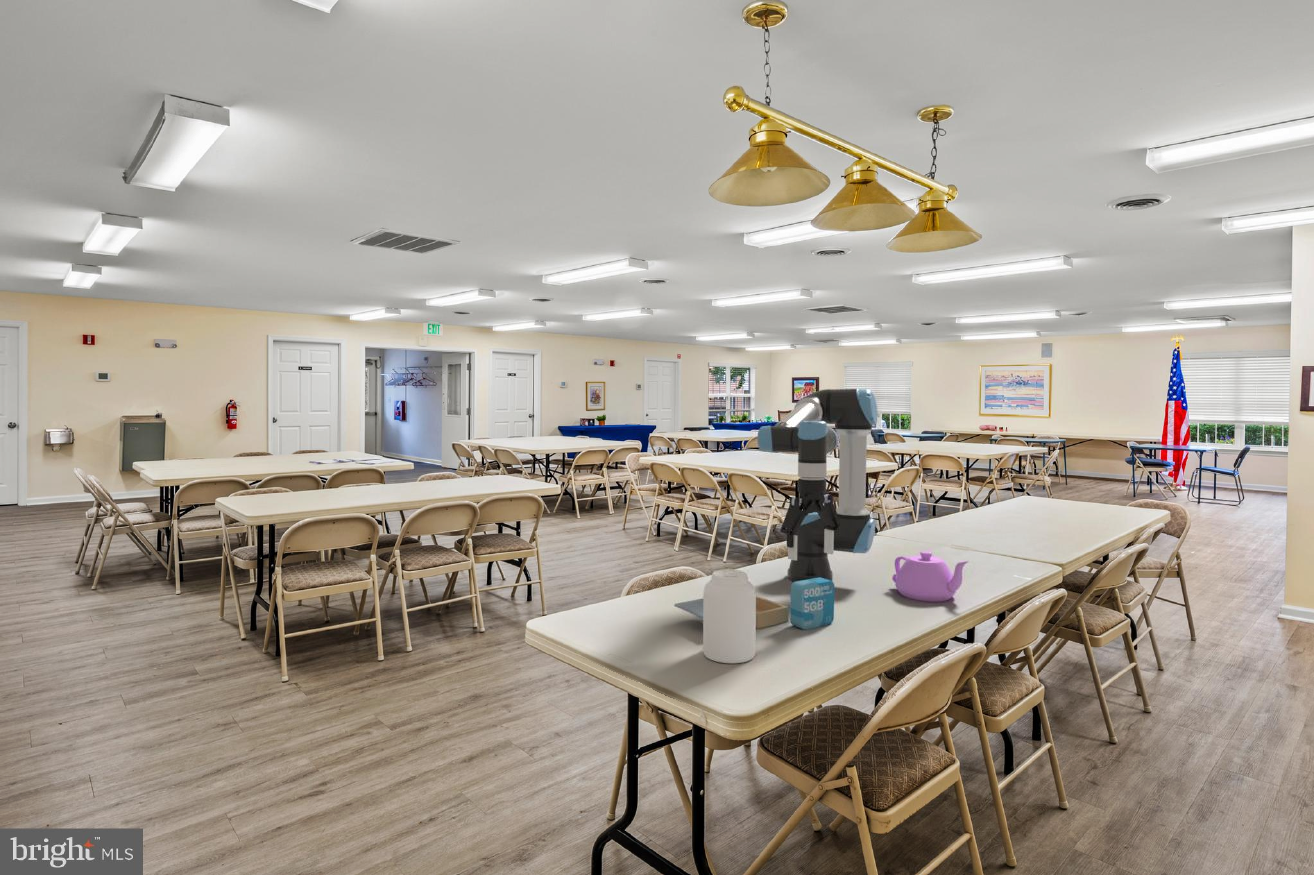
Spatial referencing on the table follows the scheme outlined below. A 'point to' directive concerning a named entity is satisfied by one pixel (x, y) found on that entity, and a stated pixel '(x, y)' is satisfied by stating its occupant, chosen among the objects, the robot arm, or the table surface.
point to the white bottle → (729, 617)
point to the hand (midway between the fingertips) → (810, 556)
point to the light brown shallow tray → (770, 612)
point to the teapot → (927, 578)
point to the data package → (812, 603)
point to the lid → (692, 607)
